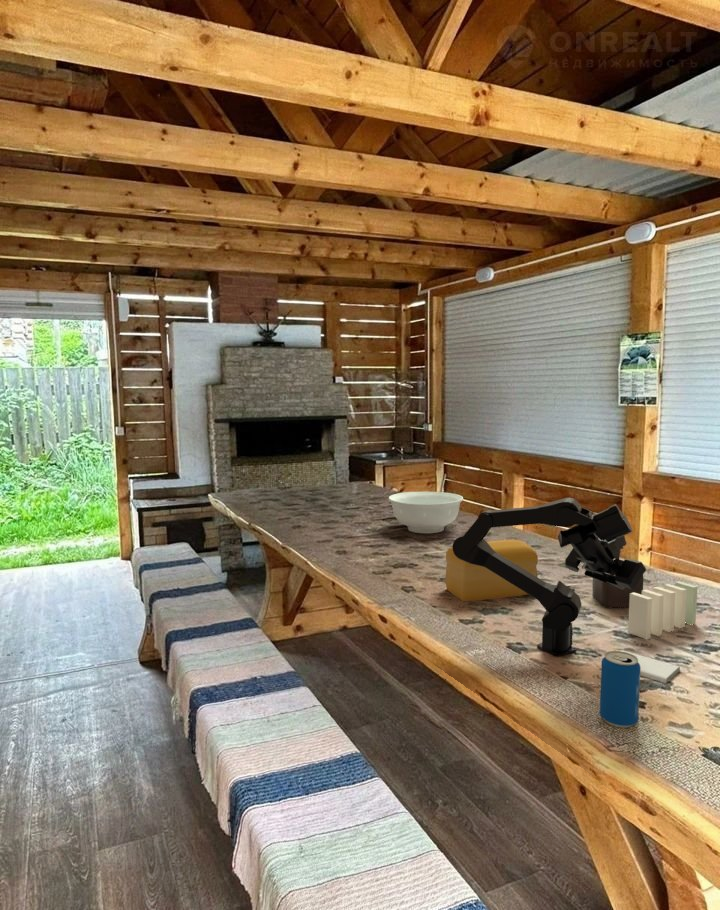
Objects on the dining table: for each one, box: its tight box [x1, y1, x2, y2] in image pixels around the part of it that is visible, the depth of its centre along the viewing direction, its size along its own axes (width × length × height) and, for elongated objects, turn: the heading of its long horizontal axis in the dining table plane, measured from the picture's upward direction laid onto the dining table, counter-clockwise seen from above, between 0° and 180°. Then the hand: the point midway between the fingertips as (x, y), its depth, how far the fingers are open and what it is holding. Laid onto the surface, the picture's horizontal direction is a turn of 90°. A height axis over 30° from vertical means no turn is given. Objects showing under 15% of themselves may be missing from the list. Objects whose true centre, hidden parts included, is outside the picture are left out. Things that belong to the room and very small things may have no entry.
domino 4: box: [663, 583, 687, 629], centre depth 158 cm, size 2×5×10 cm, turn 29°
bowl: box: [388, 491, 464, 534], centre depth 268 cm, size 32×32×15 cm
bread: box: [445, 539, 539, 602], centre depth 185 cm, size 24×13×15 cm, turn 107°
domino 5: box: [674, 580, 698, 626], centre depth 160 cm, size 2×5×10 cm, turn 29°
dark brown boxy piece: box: [591, 546, 644, 609], centre depth 177 cm, size 16×11×18 cm
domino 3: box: [652, 586, 675, 633], centre depth 156 cm, size 2×5×10 cm, turn 29°
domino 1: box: [627, 593, 652, 640], centre depth 151 cm, size 2×5×10 cm, turn 29°
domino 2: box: [642, 589, 664, 637], centre depth 154 cm, size 2×5×10 cm, turn 29°
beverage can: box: [599, 650, 641, 729], centre depth 112 cm, size 6×6×12 cm
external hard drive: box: [620, 649, 681, 684], centre depth 134 cm, size 2×8×12 cm
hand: (619, 586), depth 147 cm, fingers open, 2 cm apart
